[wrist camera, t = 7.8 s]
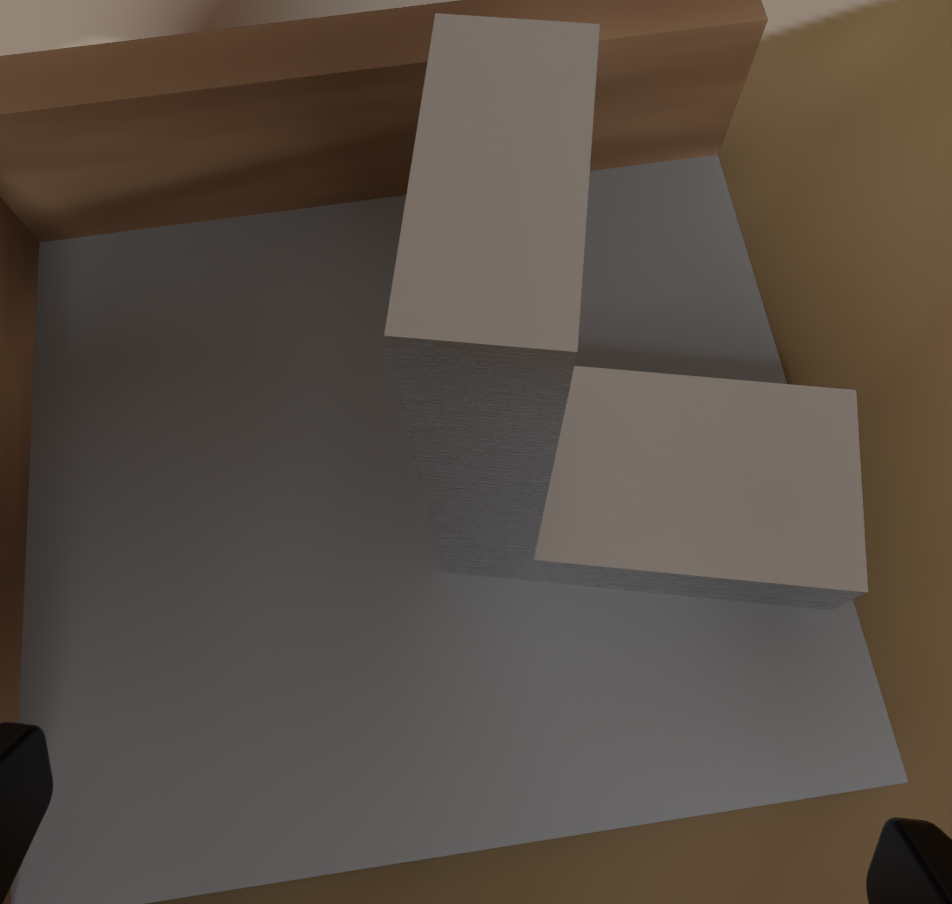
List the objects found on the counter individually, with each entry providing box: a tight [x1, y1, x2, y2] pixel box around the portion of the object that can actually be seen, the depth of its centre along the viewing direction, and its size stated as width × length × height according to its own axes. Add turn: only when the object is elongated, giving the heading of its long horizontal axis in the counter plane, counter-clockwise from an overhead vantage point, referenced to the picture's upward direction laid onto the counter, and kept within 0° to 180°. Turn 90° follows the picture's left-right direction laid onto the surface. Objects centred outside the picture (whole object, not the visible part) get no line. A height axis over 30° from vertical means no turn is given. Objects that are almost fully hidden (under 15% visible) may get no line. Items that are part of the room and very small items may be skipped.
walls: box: [0, 0, 768, 904], centre depth 16 cm, size 16×18×4 cm
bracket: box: [384, 13, 868, 610], centre depth 13 cm, size 4×8×10 cm, turn 84°
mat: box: [11, 155, 908, 904], centre depth 19 cm, size 16×18×1 cm
